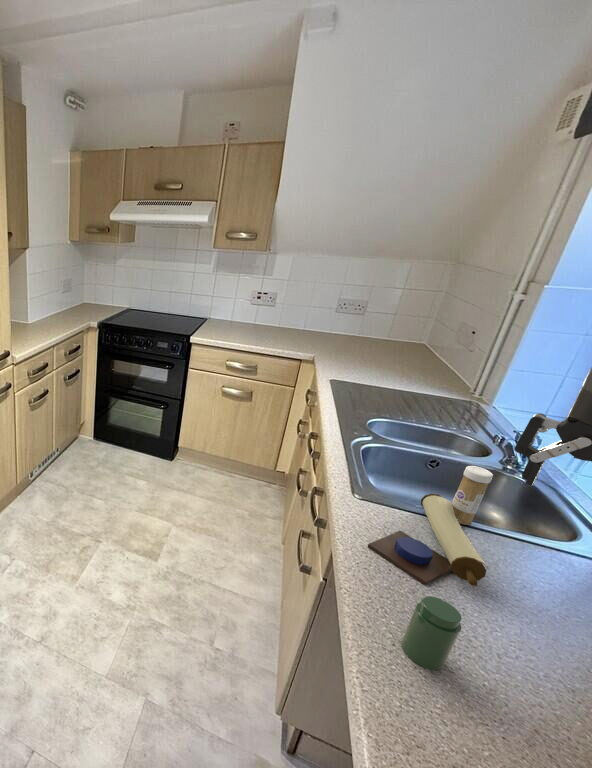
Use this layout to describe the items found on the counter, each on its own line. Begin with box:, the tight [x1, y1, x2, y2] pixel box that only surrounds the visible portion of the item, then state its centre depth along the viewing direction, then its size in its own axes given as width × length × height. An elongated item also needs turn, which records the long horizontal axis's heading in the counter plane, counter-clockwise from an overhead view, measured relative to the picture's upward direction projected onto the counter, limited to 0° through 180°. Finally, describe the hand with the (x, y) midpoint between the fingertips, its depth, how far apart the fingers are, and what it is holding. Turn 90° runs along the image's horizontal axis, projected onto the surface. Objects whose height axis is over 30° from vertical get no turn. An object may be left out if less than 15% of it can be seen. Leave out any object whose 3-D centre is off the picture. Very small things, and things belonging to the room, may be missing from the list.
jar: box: [400, 595, 463, 671], centre depth 64 cm, size 5×5×10 cm
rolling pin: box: [420, 493, 489, 587], centre depth 88 cm, size 32×6×5 cm, turn 152°
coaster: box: [367, 530, 453, 586], centre depth 85 cm, size 11×11×1 cm
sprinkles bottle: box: [451, 465, 494, 526], centre depth 95 cm, size 5×5×13 cm
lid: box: [395, 537, 433, 565], centre depth 85 cm, size 6×6×2 cm
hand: (572, 498), depth 58 cm, fingers open, 8 cm apart
